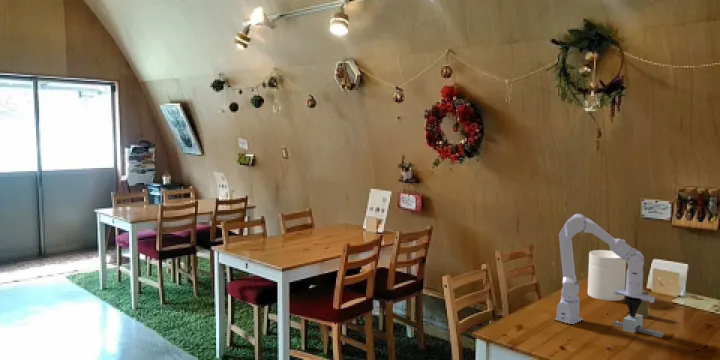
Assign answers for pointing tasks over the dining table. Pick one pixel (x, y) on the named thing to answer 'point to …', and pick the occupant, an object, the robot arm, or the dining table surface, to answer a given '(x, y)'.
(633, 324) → the block
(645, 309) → the cork
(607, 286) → the canister
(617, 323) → the rail
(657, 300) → the dining table surface
